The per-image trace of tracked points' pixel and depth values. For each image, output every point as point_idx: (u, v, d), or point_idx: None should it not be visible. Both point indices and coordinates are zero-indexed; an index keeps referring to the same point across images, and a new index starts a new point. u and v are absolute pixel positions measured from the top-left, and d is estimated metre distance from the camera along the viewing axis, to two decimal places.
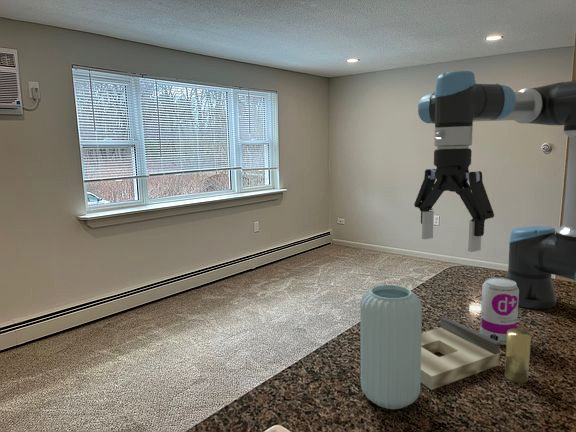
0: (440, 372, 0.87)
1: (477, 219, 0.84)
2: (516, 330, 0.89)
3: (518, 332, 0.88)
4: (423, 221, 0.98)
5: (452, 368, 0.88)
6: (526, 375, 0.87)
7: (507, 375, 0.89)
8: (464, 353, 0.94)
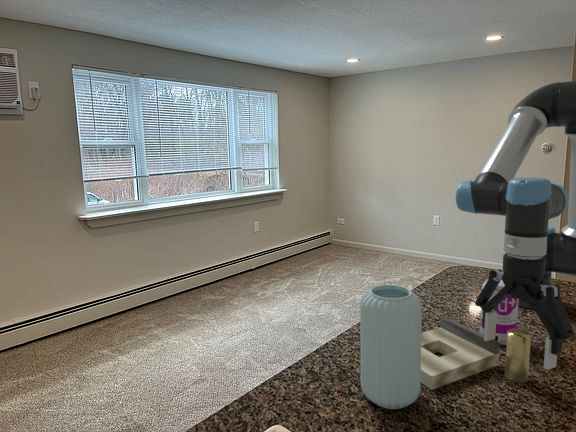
0: (440, 372, 0.87)
1: (556, 338, 0.79)
2: (516, 330, 0.89)
3: (518, 332, 0.88)
4: (486, 322, 0.93)
5: (452, 368, 0.88)
6: (526, 375, 0.87)
7: (507, 375, 0.89)
8: (464, 353, 0.94)
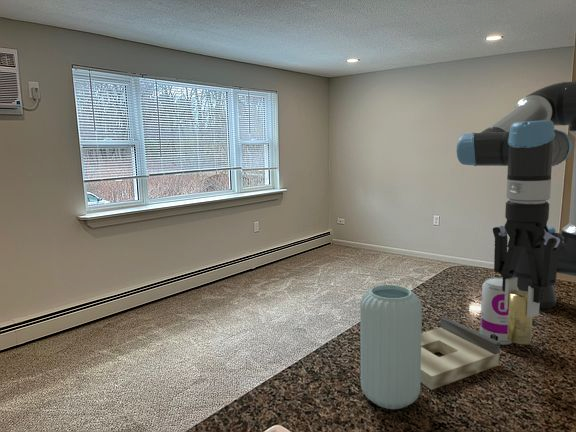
0: (440, 372, 0.87)
1: (536, 287, 0.82)
2: (518, 291, 0.88)
3: (521, 293, 0.87)
4: (506, 289, 0.88)
5: (452, 368, 0.88)
6: (529, 336, 0.86)
7: (510, 337, 0.88)
8: (464, 353, 0.94)
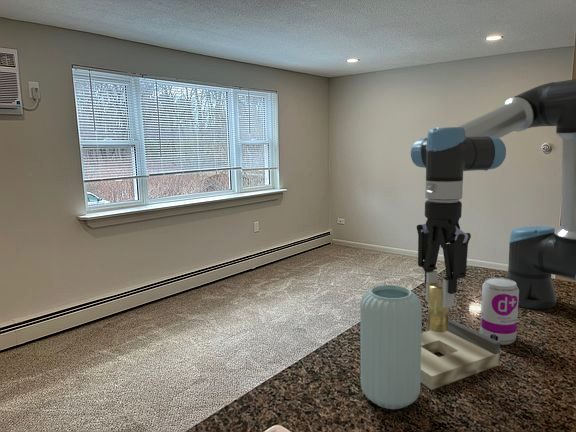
0: (440, 372, 0.87)
1: (449, 279, 0.90)
2: (438, 283, 0.95)
3: (439, 285, 0.94)
4: (427, 282, 0.96)
5: (452, 368, 0.88)
6: (445, 325, 0.93)
7: (429, 326, 0.95)
8: (464, 353, 0.94)
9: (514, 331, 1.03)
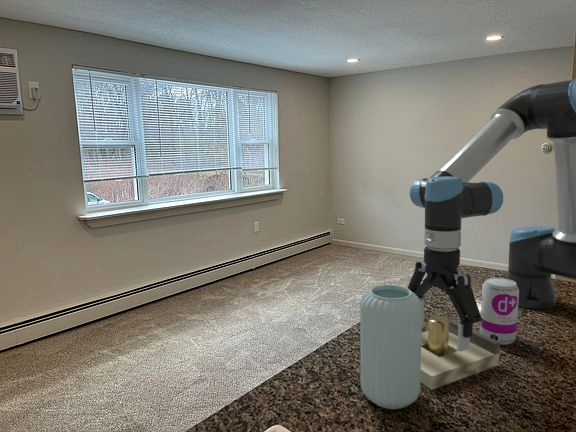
0: (440, 372, 0.87)
1: (465, 322, 0.87)
2: (437, 317, 0.97)
3: (438, 319, 0.96)
4: None
5: (452, 368, 0.88)
6: None
7: None
8: (464, 353, 0.94)
9: (514, 331, 1.03)
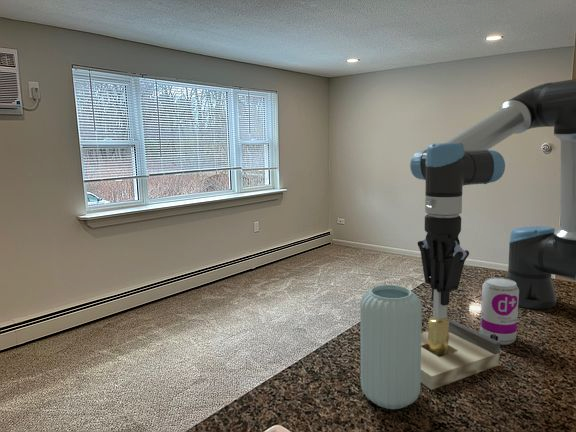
0: (440, 372, 0.87)
1: (442, 291, 0.92)
2: None
3: (438, 319, 0.96)
4: (434, 299, 0.94)
5: (452, 368, 0.88)
6: None
7: None
8: (464, 353, 0.94)
9: (514, 331, 1.03)
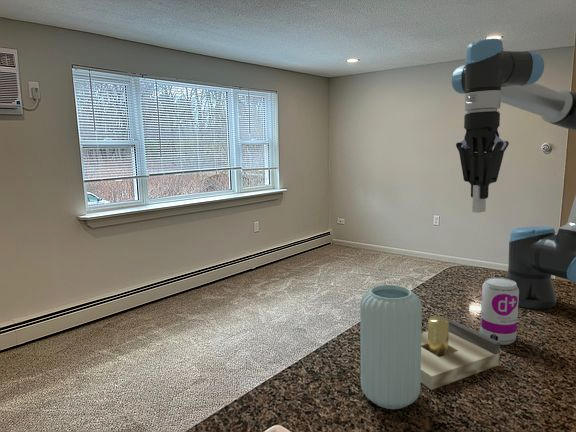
0: (440, 372, 0.87)
1: (481, 185, 0.98)
2: (437, 317, 0.97)
3: (438, 319, 0.96)
4: (474, 194, 1.00)
5: (452, 368, 0.88)
6: None
7: None
8: (464, 353, 0.94)
9: (514, 331, 1.03)
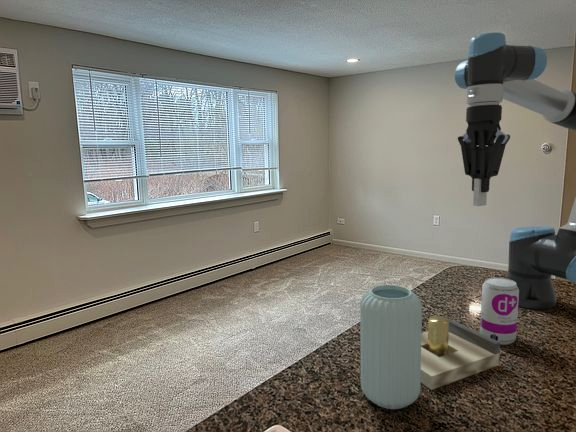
0: (440, 372, 0.87)
1: (482, 178, 0.99)
2: (437, 317, 0.97)
3: (438, 319, 0.96)
4: (475, 188, 1.01)
5: (452, 368, 0.88)
6: None
7: None
8: (464, 353, 0.94)
9: (514, 331, 1.03)
